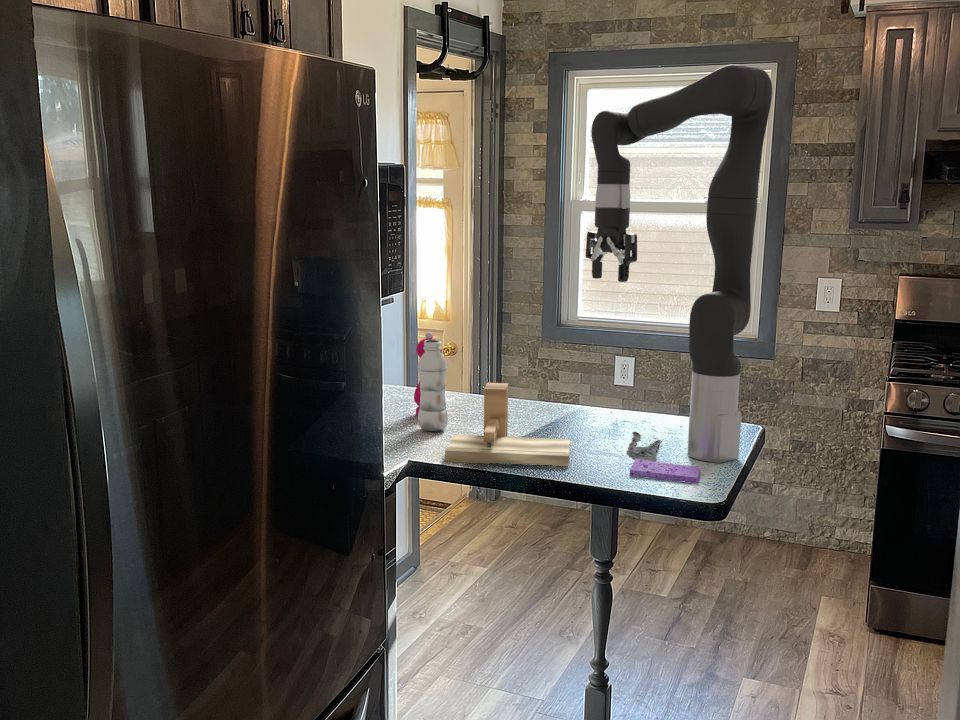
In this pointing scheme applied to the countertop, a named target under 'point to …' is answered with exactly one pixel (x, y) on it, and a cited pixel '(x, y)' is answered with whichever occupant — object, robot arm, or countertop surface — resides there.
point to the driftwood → (642, 449)
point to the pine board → (508, 450)
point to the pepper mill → (420, 352)
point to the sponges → (665, 471)
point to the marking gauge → (495, 411)
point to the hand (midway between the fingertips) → (609, 280)
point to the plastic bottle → (432, 387)
